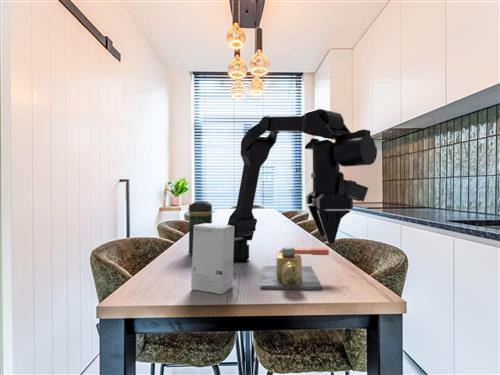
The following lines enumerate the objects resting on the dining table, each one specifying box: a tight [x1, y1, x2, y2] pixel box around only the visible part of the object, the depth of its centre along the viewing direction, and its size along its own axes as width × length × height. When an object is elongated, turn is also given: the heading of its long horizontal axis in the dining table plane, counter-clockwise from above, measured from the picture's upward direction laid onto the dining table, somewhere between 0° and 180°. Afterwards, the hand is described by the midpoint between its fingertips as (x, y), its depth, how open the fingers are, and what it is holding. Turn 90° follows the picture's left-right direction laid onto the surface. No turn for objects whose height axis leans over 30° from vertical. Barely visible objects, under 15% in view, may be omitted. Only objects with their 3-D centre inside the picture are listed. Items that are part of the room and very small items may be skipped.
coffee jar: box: [188, 200, 213, 256], centre depth 100 cm, size 10×8×19 cm
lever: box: [281, 246, 330, 256], centre depth 72 cm, size 12×3×2 cm, turn 86°
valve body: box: [260, 249, 323, 291], centre depth 73 cm, size 18×14×6 cm
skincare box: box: [190, 223, 234, 295], centre depth 66 cm, size 8×6×15 cm
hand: (326, 239), depth 62 cm, fingers open, 9 cm apart
